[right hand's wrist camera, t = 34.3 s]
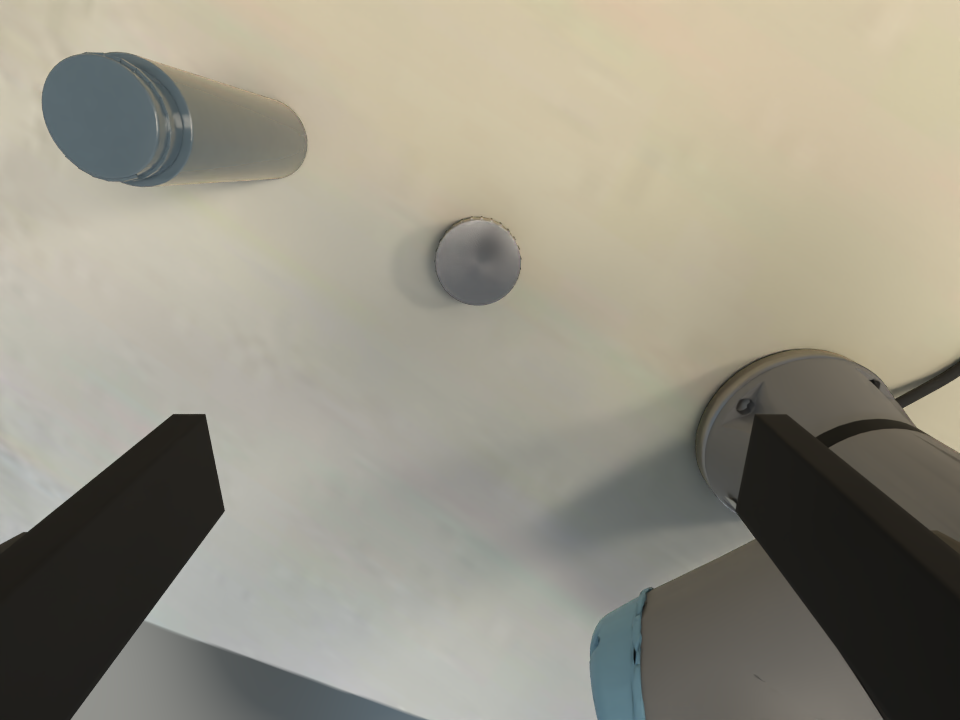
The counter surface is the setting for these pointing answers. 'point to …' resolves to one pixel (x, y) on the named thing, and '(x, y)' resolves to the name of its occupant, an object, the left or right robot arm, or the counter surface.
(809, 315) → the counter surface
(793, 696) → the right robot arm
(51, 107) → the jar
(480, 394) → the counter surface
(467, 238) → the lid
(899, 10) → the counter surface
